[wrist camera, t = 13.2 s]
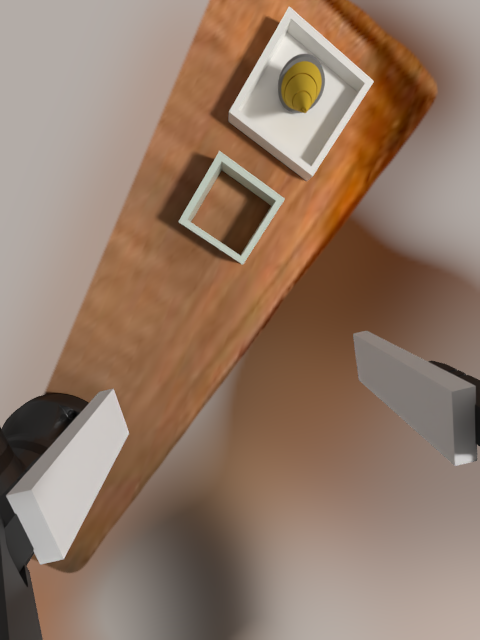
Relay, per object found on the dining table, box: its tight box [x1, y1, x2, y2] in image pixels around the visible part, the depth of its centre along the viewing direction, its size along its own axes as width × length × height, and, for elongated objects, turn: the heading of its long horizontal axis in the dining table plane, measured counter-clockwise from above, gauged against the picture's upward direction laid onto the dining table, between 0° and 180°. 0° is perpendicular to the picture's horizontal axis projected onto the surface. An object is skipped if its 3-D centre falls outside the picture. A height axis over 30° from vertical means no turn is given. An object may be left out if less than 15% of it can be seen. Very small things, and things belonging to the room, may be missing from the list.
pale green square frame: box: [178, 151, 285, 265], centre depth 37 cm, size 10×10×4 cm
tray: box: [228, 7, 374, 181], centre depth 35 cm, size 13×13×2 cm
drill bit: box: [278, 54, 325, 113], centre depth 32 cm, size 5×5×10 cm
